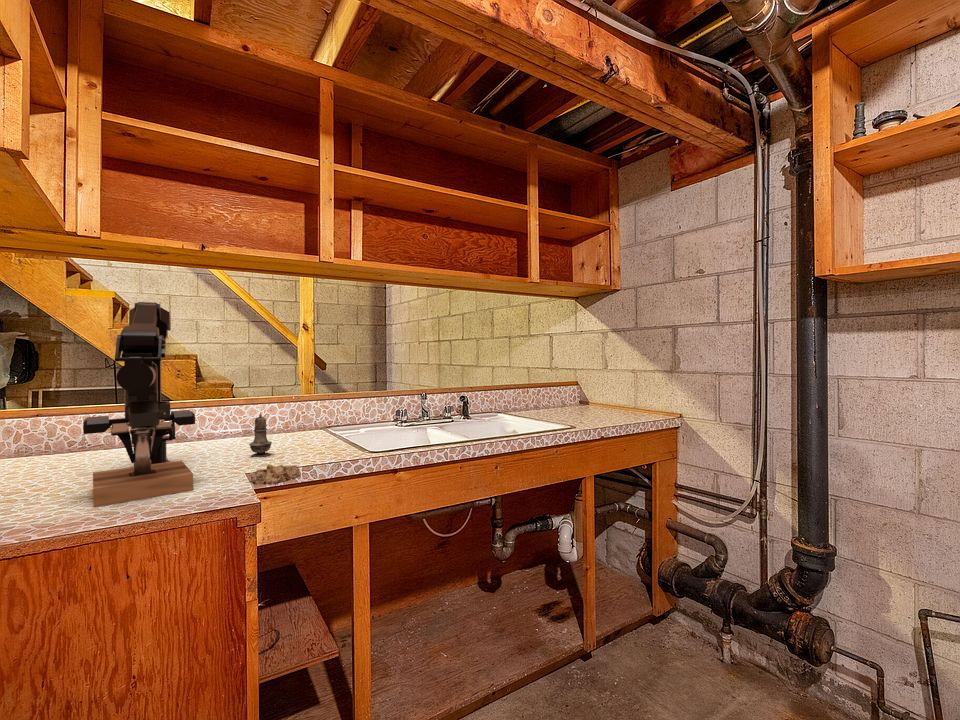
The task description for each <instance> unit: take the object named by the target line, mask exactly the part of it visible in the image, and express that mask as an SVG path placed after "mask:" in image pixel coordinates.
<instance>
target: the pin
mask: <svg viewBox="0 0 960 720" xmlns="http://www.w3.org/2000/svg"><path fill="white" fill-rule="evenodd" d="M129 432H130V435H131V434H133V444H132V448H133V454H134V463H133V467H134V476H140V475H147V474H151V433H152V432H154V428H153V427H144V428H135V429H131V428H130V430H129Z"/></svg>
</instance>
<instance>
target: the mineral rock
mask: <svg viewBox="0 0 960 720" xmlns="http://www.w3.org/2000/svg"><path fill="white" fill-rule="evenodd" d="M249 476H250V480H251V482H252V483H255V484H256V485H274V484H279V483H283V482H285V481H291V480H294V479H296V478H298V477H299V476H300V468H299V466H297V465H289V466H288V465H283V464H280V465H276V466H275V465H272V464H267V465H266V468H264V469H261V468H260V469H256V470H255V471H253V472H250V473H249Z"/></svg>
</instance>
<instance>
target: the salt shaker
mask: <svg viewBox="0 0 960 720" xmlns="http://www.w3.org/2000/svg"><path fill="white" fill-rule="evenodd" d="M267 431H268V429H267V418H265V416H262V414H261V413H259V415H258V417H256V418H255V419H254V429H253V432H254V439H253V441H252V442H250V443H249V444H248V445H249V447H250V450H251V451H252V454H251V455H250V456H251V457H264V458H267V457H266V456H268V457H271V456H272V454H271V453H270V452H268V451H270V449H271V447H272V443H273V442H272V441H269V440H268V436H267ZM270 455H271V456H270ZM251 457H250V458H251Z"/></svg>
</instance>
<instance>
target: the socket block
mask: <svg viewBox="0 0 960 720" xmlns="http://www.w3.org/2000/svg"><path fill="white" fill-rule="evenodd" d="M92 488H93V489H92V491H93V492H92V494H93V496H92V499H93V504H92V505H93V508H97V507H96V506H98V507H103V506H102V505H104V506H109V505H108V504H110V505H114V504H113V503H116V504H120V503H119V502H122V503H127V502H132V500H133V501H138V500H144V499H150V498H156V497H160V496H161V497H162V496H167V495H174V494H179V493H184V491H185V492H190V491H194V473H193V472H192V471H191V469H189V467H188V466H187V465H186V464H185V463H184V461H182V460H175V461H169V462H166V463H158V464H151V474H147V475H140V476H134V466H130V467H122V468H115V469H107V470H100V471H93V472H92ZM173 493H174V494H173ZM126 501H127V502H126Z"/></svg>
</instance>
